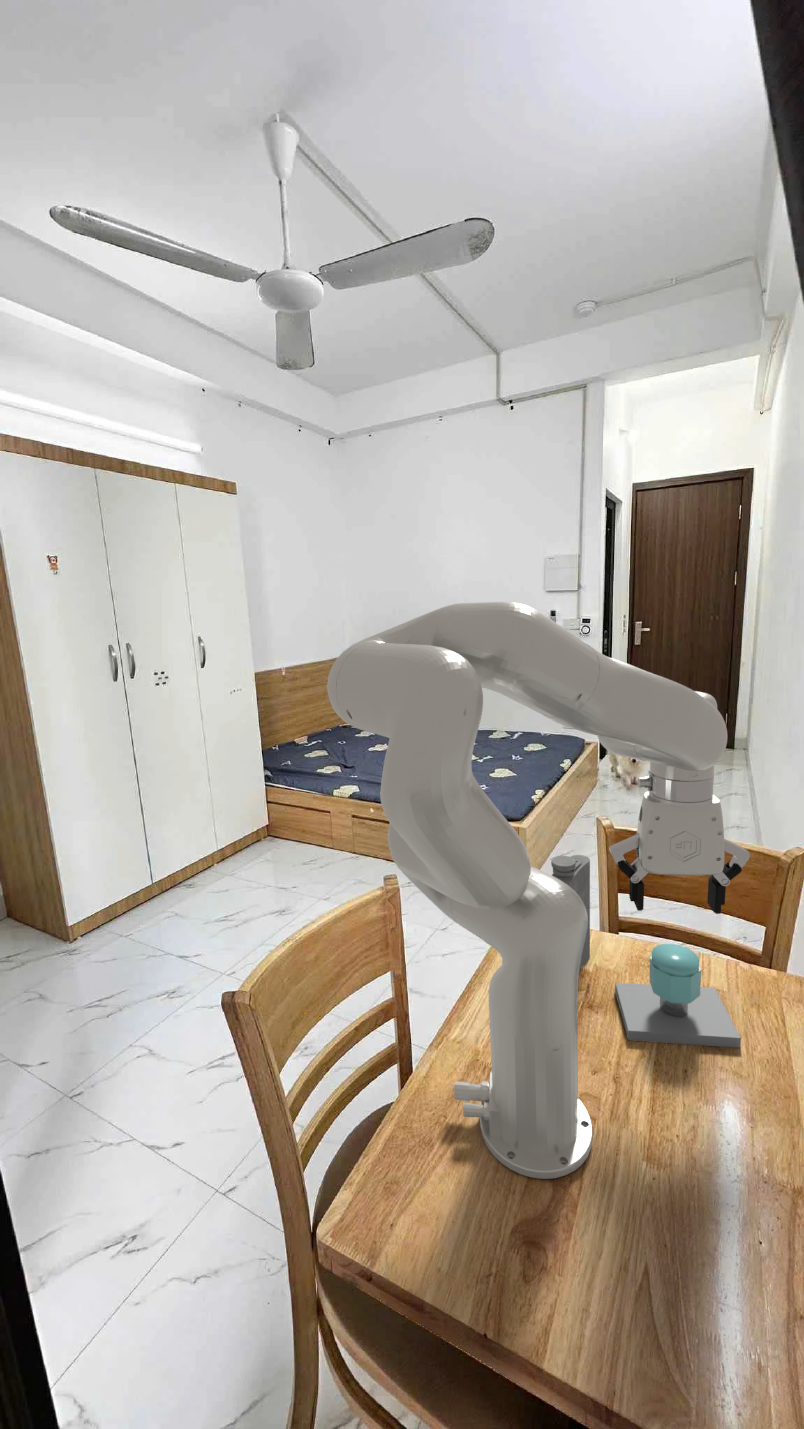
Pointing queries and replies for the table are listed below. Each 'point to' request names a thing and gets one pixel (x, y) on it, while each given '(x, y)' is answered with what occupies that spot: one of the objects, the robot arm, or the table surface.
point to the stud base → (675, 1018)
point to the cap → (675, 973)
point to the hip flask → (576, 886)
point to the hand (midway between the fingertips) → (675, 907)
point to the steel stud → (673, 1008)
